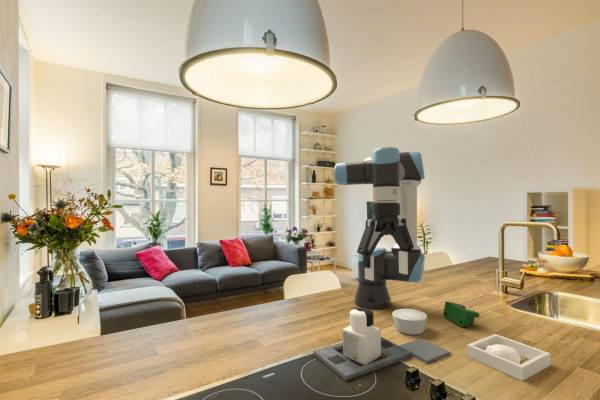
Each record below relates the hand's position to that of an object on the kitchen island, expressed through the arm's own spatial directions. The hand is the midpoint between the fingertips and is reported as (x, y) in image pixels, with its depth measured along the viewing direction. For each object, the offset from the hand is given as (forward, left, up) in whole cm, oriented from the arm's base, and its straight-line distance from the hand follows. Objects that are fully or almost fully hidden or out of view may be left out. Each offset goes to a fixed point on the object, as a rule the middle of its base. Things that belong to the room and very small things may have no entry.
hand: (387, 276), depth 89 cm
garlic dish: (+19, +25, -22) cm, 38 cm away
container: (-3, -7, -22) cm, 24 cm away
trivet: (+4, +10, -22) cm, 25 cm away
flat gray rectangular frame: (-3, -7, -22) cm, 23 cm away
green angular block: (-4, +40, -22) cm, 46 cm away
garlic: (+18, +24, -23) cm, 38 cm away
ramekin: (-9, +19, -22) cm, 31 cm away
